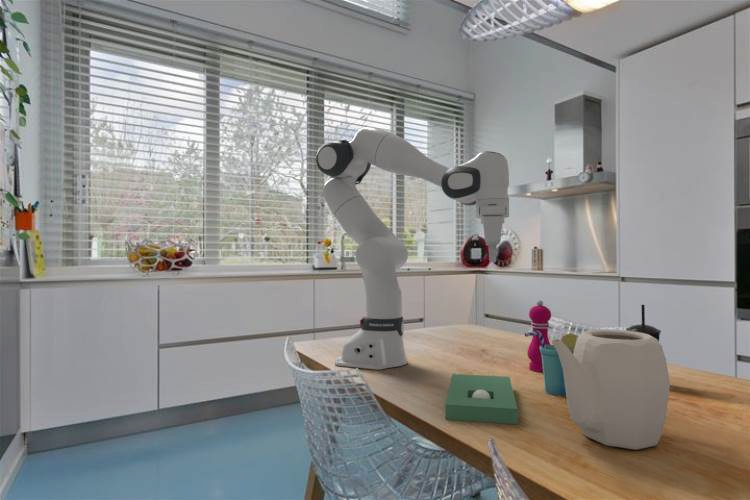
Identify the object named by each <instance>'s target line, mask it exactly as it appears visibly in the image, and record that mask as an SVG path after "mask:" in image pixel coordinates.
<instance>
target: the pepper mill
mask: <svg viewBox="0 0 750 500" xmlns="http://www.w3.org/2000/svg"><path fill="white" fill-rule="evenodd" d="M528 317H529V319H530V320H531V322H530V324H531V325H530V327H531V328H532V332H533V331H539V332H540V333H541V334H542V336H543V339H544V342H545V344H546V345H552V344H551V341H550V339H549V334H548V333H549V332H548V331H549V329H550V322H549V321H550V320H551V318H552V312H551V310H550V309H549V307H547V306H544V302H543V300H541V299H538V300H537V301H536V305H535V306H532V307H531V308H530V309H529V313H528ZM531 337H532V338H531V341H530V343H529V346H528V348H527V353H526V354H527V355H526V356H527V357H528V359H529V360H530V362H529V363H528V364H529V365H528V367H529V370H530V371H532V372H537V373H543V365H542V355H541V352H540V346H542V343H541V340H540V338H539V335H538V334H536V335H532V336H531Z"/></svg>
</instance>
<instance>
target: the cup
mask: <svg viewBox="0 0 750 500" xmlns="http://www.w3.org/2000/svg"><path fill="white" fill-rule="evenodd" d="M536 334H538V335H539V338H540V340H541V343H542V346H540V352H541V355H542V365H543V372H542V374H543V381H544V383H543V384H544V390H545V393H546V394H549V395H553V396H562V397H563V396H566V389H565V382H564V374H563V368H562V365H561V362H560V358H559V355H558V352H557V350H556V349H555V347H554V345H553V344H551V345H546V344H545V342H544V339H543V336H542V334H541V333H540V332H539V331H533V330H532V331H530V332H527V333H524V336H525V337H526V338H527V337H530V336H531V337H533V335H536ZM578 336H579V335H576V334H574V333H571V332H568V333H567V334H564V335H562V336H561V339H560V340H561V341H562V342H563V343H564V344H565V345H566V346H567V347H568V349H569V350H570V351H571V352H572V354H573V353H574V349H575V345H576V341H577V338H578Z"/></svg>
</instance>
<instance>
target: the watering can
mask: <svg viewBox="0 0 750 500" xmlns="http://www.w3.org/2000/svg"><path fill="white" fill-rule="evenodd" d="M577 336H578V338H577V341H576V345H575V349H574V353H573V354H572V352H571V351H570V350H569V349H568V347H567V346H566V345H565V344H564V343H563V342H562V341H561V339H560V338H555V339H553V340H551V341H550V343H552V344H551V345H554V347H555V349H556V350H557V352H558V355H559V358H560V362H561V365H562V368H563V374H564V382H565V389H566V395H565V397H566V402H567V403H566V404H567V410H568V415H569V416H570V418H571V420H572V421H573V422H574V424H575V425H576V426H578V427H579V428H581V431H582V433H583V435H584V436H585V437H588V438H589V439H592V440H594V441H596V442H597V443H600V444H603V445H604V446H607V447H613V448H614V447H616V448H623V449H628V450H634V451H636V450H642V449H647V448H650V447H654V446H658V444H659V441H660V439H661V436H662V432H663V429H664V427H665V424H666V417H667V411H668V404H669V397H670V387H671V383H670V373H669V369H668V364H667V358H666V356H665V353H664V350H663V345H661V343H660V340H659V341H658V340H657V339H656V338H654V337H652V336H650V335H648V334H645V333H640V332H634V331H627V330H625V329H608V328H607V329H604V328H603V329H601V328H599V329H588V330H585V331H583V332H582V333H579V334H578V335H577Z"/></svg>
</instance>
